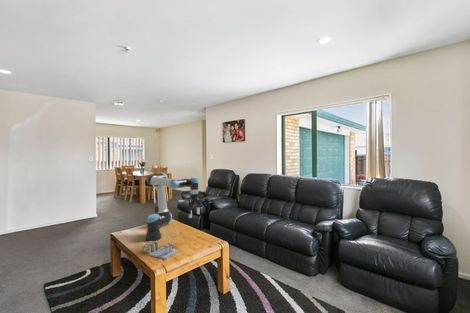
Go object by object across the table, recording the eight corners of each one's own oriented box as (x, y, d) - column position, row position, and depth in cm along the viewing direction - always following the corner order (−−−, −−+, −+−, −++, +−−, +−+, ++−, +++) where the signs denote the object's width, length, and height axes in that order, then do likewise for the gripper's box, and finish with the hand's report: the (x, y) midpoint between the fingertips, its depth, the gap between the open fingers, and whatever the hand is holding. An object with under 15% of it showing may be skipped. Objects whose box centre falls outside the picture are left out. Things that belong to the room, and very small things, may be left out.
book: (166, 223, 277) (166, 203, 277) (169, 224, 274) (169, 203, 274) (155, 227, 263) (154, 205, 263) (158, 228, 260) (158, 206, 260)
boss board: (148, 255, 190) (148, 245, 190) (162, 248, 205) (162, 238, 205) (165, 259, 183) (165, 248, 183) (178, 251, 197) (178, 241, 197)
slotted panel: (142, 251, 197) (142, 245, 197) (151, 247, 207) (151, 240, 206) (150, 253, 193) (150, 246, 193) (158, 249, 203) (158, 242, 203)
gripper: (190, 196, 204) (190, 219, 204) (204, 191, 227) (204, 213, 227) (183, 195, 207) (183, 218, 207) (198, 191, 230) (198, 212, 230)
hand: (194, 215), depth 217 cm, fingers open, 13 cm apart
